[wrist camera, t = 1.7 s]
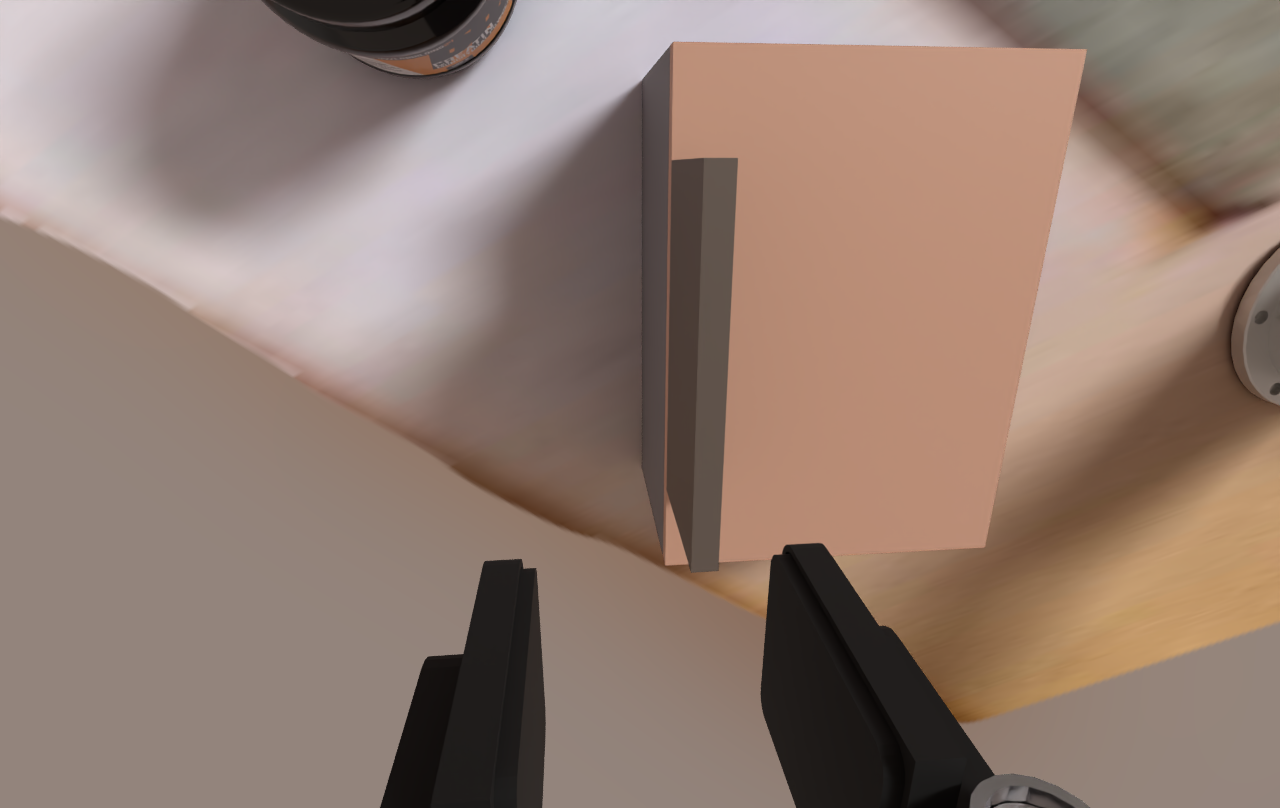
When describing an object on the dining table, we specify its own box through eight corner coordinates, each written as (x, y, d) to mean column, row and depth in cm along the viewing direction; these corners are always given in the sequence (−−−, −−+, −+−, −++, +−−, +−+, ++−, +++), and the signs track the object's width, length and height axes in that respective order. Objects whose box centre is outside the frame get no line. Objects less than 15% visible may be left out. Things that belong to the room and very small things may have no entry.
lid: (1071, 52, 26) (1251, 11, 19) (975, 538, 33) (1079, 634, 27) (670, 45, 24) (709, -3, 18) (663, 556, 32) (688, 662, 25)
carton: (938, 83, 35) (1070, 53, 26) (886, 456, 43) (974, 537, 33) (642, 79, 34) (670, 45, 25) (641, 467, 41) (662, 555, 32)
